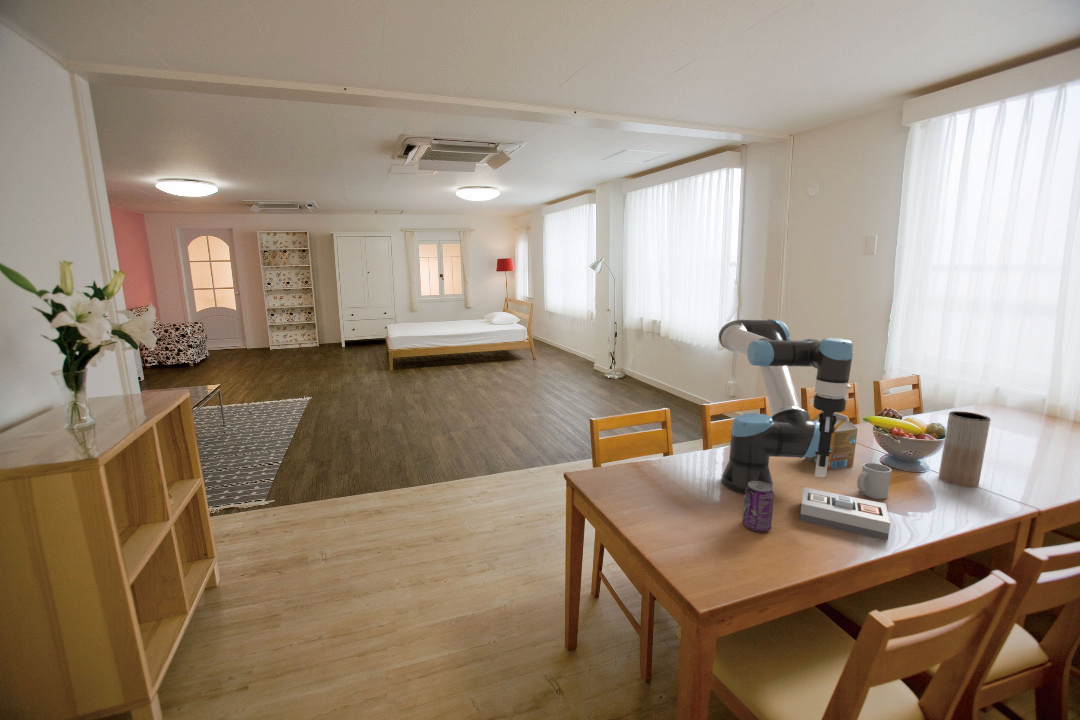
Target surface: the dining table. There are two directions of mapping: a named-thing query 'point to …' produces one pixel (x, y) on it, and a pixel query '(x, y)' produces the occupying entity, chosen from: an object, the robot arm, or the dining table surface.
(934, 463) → the dining table surface
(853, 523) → the keypad
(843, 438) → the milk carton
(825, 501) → the key left
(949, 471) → the planter
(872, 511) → the key right
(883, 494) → the cup
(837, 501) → the key mid
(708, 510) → the dining table surface
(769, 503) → the beverage can
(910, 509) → the dining table surface
